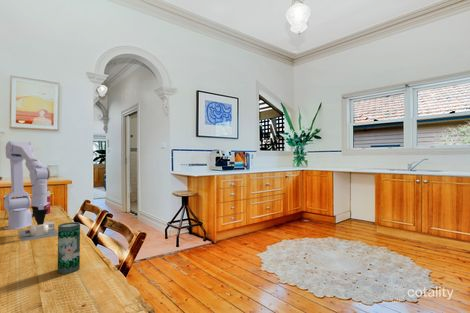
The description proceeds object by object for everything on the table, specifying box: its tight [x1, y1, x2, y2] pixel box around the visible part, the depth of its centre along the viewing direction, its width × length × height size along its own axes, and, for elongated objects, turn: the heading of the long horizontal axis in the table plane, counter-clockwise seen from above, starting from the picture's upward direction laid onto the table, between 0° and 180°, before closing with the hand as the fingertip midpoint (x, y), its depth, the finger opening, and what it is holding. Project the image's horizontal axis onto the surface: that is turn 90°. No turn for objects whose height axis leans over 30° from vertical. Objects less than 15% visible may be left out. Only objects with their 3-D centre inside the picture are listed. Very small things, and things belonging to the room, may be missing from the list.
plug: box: [25, 224, 53, 236], centre depth 125 cm, size 10×4×4 cm, turn 131°
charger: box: [41, 221, 55, 230], centre depth 134 cm, size 5×5×3 cm
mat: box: [18, 227, 58, 242], centre depth 127 cm, size 20×14×1 cm
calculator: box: [32, 189, 51, 218], centre depth 167 cm, size 11×4×15 cm, turn 179°
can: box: [57, 221, 81, 275], centre depth 89 cm, size 6×6×15 cm
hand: (39, 222), depth 125 cm, fingers open, 7 cm apart
